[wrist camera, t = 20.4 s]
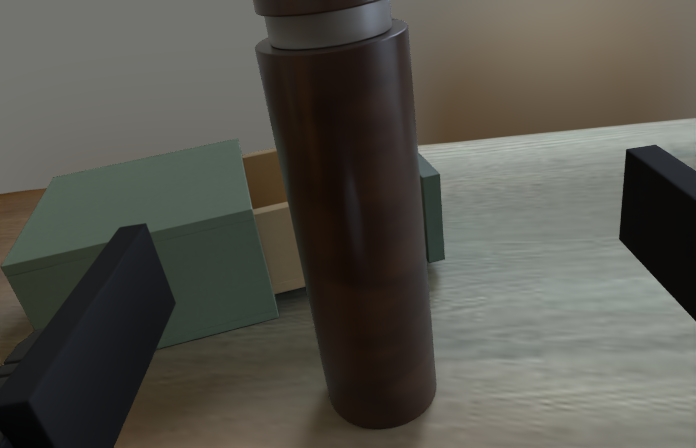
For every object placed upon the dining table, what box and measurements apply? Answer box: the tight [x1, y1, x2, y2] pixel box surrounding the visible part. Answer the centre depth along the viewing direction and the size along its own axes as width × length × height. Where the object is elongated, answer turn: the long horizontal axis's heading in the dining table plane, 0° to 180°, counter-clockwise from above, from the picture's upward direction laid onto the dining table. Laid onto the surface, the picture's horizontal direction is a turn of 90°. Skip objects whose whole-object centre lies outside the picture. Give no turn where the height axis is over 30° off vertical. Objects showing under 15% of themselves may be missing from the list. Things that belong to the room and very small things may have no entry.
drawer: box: [242, 148, 445, 294], centre depth 42 cm, size 15×12×7 cm
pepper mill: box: [253, 0, 436, 429], centre depth 25 cm, size 6×6×24 cm
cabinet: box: [1, 139, 279, 349], centre depth 40 cm, size 14×13×8 cm
